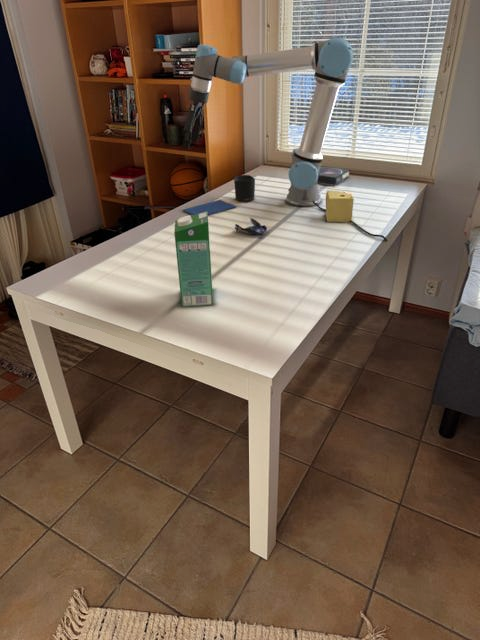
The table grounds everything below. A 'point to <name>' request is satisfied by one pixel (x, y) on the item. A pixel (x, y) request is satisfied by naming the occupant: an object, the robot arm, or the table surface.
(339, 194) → the cheese
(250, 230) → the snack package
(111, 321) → the table surface
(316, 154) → the robot arm
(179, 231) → the milk carton
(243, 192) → the pen holder
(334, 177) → the portable cd player
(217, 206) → the blue cloth
